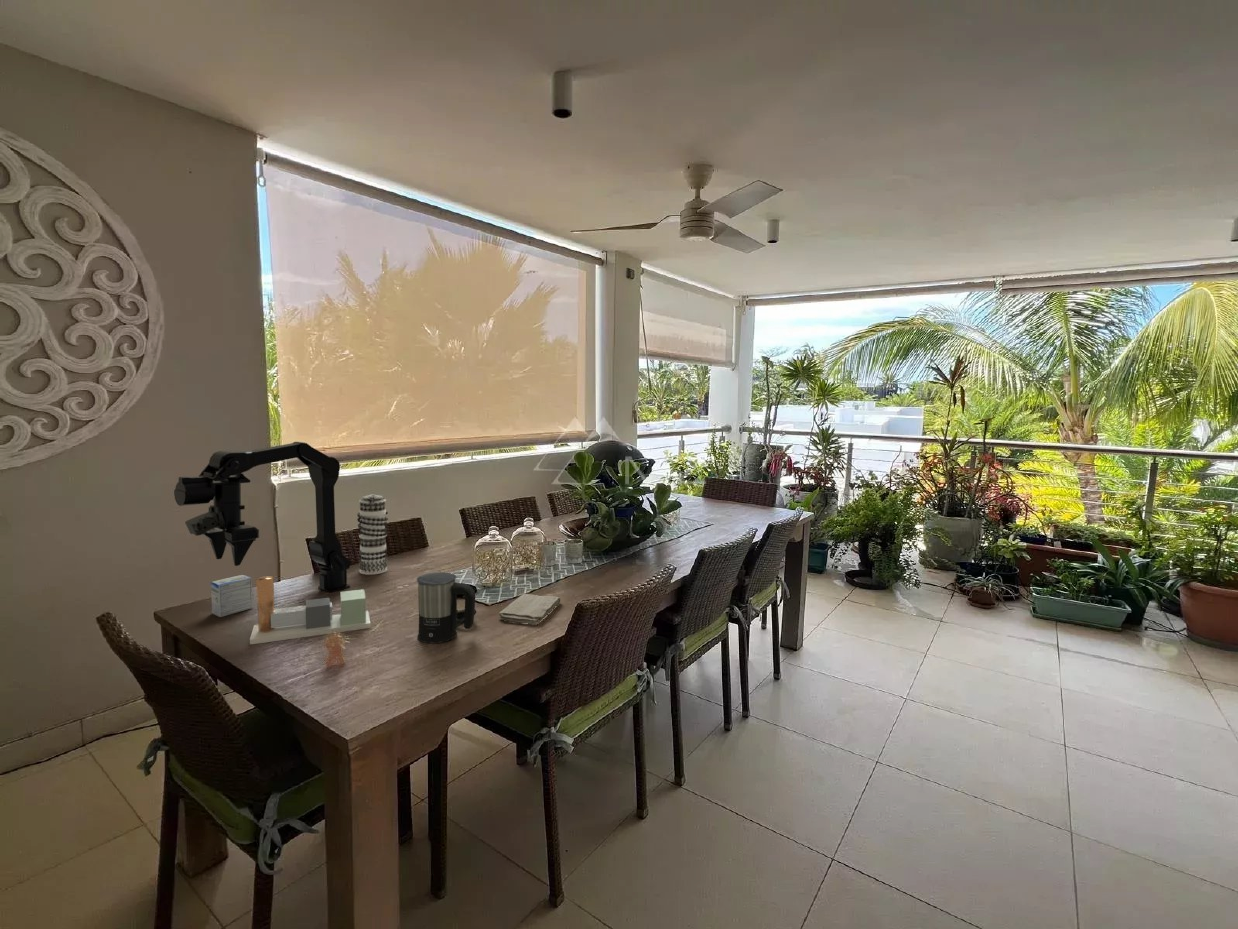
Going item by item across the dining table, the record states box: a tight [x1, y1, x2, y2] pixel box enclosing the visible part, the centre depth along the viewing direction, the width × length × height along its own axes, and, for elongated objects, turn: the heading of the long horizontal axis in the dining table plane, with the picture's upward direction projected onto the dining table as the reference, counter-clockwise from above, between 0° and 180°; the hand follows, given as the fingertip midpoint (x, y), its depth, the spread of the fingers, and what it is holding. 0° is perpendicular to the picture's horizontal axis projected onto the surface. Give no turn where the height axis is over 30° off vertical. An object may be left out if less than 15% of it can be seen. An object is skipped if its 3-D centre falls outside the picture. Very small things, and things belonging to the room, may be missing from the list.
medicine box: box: [210, 574, 253, 618], centre depth 149 cm, size 8×4×9 cm, turn 149°
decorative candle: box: [356, 494, 389, 575], centre depth 186 cm, size 9×9×25 cm
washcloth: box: [498, 593, 561, 626], centre depth 157 cm, size 12×18×3 cm, turn 168°
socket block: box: [339, 588, 367, 625], centre depth 144 cm, size 6×7×6 cm
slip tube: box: [255, 575, 333, 631], centre depth 138 cm, size 16×3×12 cm, turn 117°
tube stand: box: [249, 597, 372, 645], centre depth 140 cm, size 26×9×7 cm, turn 117°
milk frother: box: [416, 571, 477, 644], centre depth 142 cm, size 14×16×15 cm
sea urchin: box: [314, 630, 356, 669], centre depth 122 cm, size 12×12×8 cm
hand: (227, 562), depth 144 cm, fingers open, 9 cm apart
